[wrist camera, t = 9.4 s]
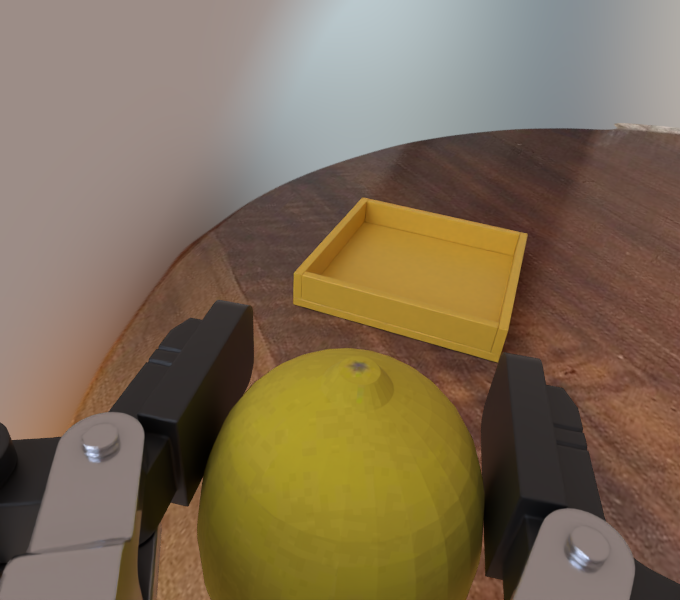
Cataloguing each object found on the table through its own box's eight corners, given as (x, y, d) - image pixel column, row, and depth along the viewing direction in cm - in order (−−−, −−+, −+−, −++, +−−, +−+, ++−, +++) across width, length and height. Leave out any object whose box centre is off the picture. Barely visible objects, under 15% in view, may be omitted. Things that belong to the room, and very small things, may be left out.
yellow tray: (292, 304, 37) (293, 272, 36) (359, 223, 48) (362, 197, 47) (498, 363, 34) (508, 330, 32) (519, 261, 45) (527, 233, 43)
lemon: (425, 519, 15) (493, 286, 11) (455, 765, 11) (593, 540, 6) (233, 505, 15) (221, 264, 11) (181, 750, 11) (122, 507, 6)
